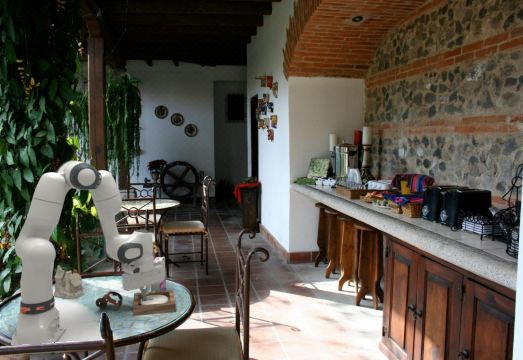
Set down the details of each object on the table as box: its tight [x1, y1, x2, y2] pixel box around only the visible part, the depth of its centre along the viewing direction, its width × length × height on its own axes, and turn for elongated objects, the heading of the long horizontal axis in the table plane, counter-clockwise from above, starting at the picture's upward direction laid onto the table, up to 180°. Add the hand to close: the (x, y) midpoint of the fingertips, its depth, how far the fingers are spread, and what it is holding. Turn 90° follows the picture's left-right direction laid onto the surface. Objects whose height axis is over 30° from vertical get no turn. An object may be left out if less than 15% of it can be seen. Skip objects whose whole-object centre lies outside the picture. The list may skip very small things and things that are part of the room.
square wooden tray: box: [132, 289, 177, 316], centre depth 205 cm, size 18×18×4 cm
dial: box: [141, 288, 168, 305], centre depth 205 cm, size 12×12×7 cm
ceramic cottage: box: [53, 265, 86, 300], centre depth 222 cm, size 16×16×15 cm
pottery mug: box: [95, 290, 124, 311], centre depth 202 cm, size 12×10×8 cm
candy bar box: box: [150, 256, 167, 292], centre depth 221 cm, size 11×5×16 cm, turn 179°
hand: (145, 294), depth 206 cm, fingers closed
